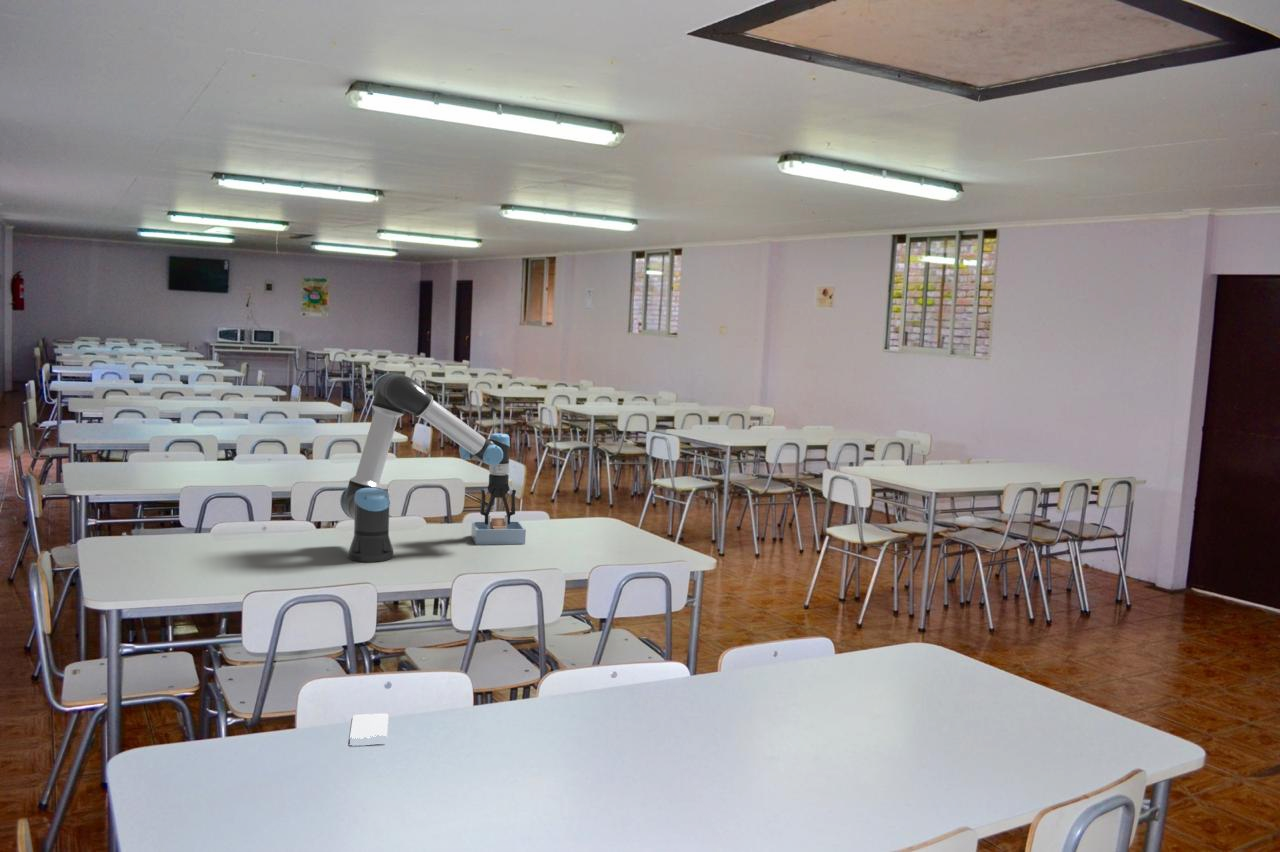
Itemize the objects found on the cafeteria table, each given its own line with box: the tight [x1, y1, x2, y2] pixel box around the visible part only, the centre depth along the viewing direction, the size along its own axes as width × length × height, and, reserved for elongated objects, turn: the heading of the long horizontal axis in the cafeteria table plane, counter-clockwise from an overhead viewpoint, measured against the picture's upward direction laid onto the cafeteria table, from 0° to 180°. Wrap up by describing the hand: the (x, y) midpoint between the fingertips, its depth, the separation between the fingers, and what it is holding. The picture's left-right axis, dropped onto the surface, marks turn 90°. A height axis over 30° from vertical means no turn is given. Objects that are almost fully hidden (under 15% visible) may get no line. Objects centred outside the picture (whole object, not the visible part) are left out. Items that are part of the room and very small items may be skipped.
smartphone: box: [349, 712, 389, 739], centre depth 202 cm, size 7×1×15 cm
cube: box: [492, 526, 507, 529], centre depth 378 cm, size 5×5×5 cm
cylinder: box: [490, 517, 505, 529], centre depth 384 cm, size 5×5×7 cm
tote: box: [470, 520, 527, 546], centre depth 381 cm, size 19×16×6 cm
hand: (497, 532), depth 385 cm, fingers open, 6 cm apart
